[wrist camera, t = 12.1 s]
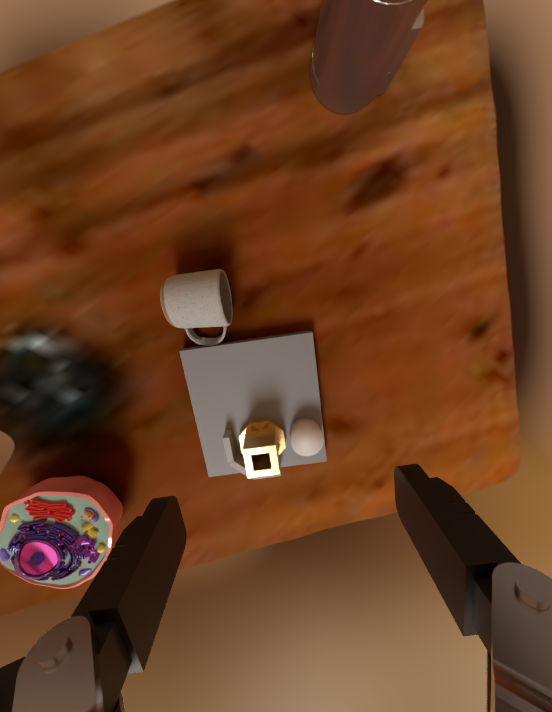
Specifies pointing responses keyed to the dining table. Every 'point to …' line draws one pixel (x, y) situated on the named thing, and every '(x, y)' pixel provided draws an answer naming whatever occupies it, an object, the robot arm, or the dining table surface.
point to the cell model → (60, 531)
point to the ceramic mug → (198, 302)
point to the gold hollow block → (262, 446)
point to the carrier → (255, 397)
